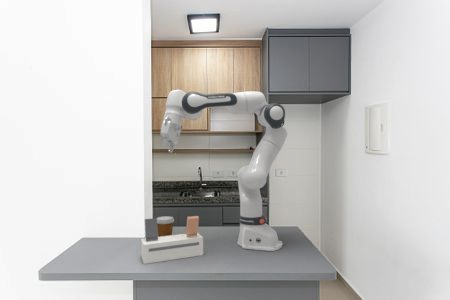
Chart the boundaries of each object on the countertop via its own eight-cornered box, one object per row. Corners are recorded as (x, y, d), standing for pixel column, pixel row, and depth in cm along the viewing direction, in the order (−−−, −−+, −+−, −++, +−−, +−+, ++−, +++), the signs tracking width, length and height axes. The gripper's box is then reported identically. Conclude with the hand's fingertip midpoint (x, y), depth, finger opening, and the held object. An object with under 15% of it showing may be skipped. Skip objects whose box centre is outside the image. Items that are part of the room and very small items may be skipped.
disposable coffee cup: (170, 244, 150) (170, 220, 150) (152, 243, 152) (152, 219, 152) (177, 238, 160) (176, 216, 160) (160, 237, 162) (160, 215, 162)
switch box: (141, 256, 133) (141, 238, 133) (197, 248, 143) (197, 232, 143) (144, 264, 125) (143, 245, 125) (203, 255, 135) (203, 237, 135)
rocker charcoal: (145, 241, 130) (144, 219, 133) (157, 239, 132) (156, 218, 135) (146, 240, 128) (145, 219, 131) (158, 239, 130) (156, 218, 133)
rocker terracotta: (185, 234, 138) (187, 216, 135) (196, 233, 139) (197, 215, 137) (186, 236, 136) (188, 219, 133) (197, 235, 138) (199, 218, 135)
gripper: (173, 115, 134) (168, 145, 131) (183, 128, 154) (178, 155, 151) (159, 114, 134) (154, 144, 131) (171, 127, 154) (166, 153, 151)
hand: (167, 150), depth 141 cm, fingers open, 8 cm apart
